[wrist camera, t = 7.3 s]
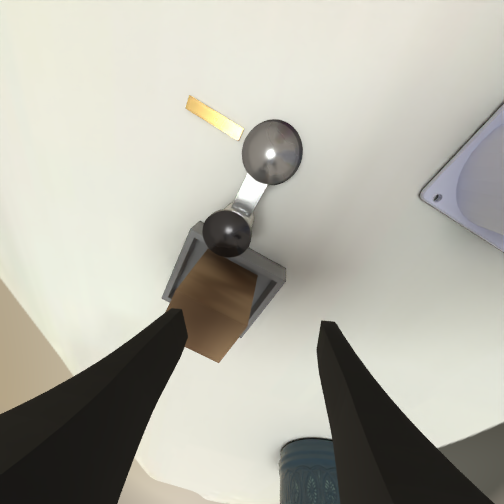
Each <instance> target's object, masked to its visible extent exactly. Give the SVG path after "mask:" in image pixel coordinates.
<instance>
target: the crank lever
mask: <svg viewBox="0 0 504 504" xmlns="http://www.w3.org/2000/svg"><path fill="white" fill-rule="evenodd" d="M298 159H299V145H298V141H297V138H296V136H295V135H294V133H293V132H292V130H291V129H290V128H288V127H287V126H286V125H284V124H282V123H279V122H275V121H269V122H264V123H261V124H259V125H258V126H256V127H255V128H253V129H252V130H251V131H250V133H249V134H248V135H247V137H246V139H245V141H244V144H243V149H242V160H243V164H244V167H245V169H246V171H247V173H248V174H247V176H246V178H245V180H244V182H243V184H242V186H241V188H240V190H239V192H238V194H237V196H236V198H235V200H234V202H233V203H231V204H229V205H228V206H227V207H226V208H225V209H224V210H219V211H216V212H214V213H213V214H211V215H210V216H209V217H208V218H207V220H206V221H205V223H204V225H203V230H202V234H203V239H204V241H205V243H206V245H207V247H208V248H209V249H210V250H211V251H212V252H214V253H215V254H217V255H219V256H222V257H228V258H231V257H236V256H239V255H241V254H242V253H244V252H245V251H246V250H247V248H248V247H249V244H250V242H251V238H252V231H251V227H252V224H253V222H254V213H253V210H254V208H255V206H256V205H257V203H258V201H259V199H260V197H261V196H262V194H263V192H264V190H265V189H266V187H267V185H272V184H277V183H280V182H282V181H284V180H285V179H287V178H288V177H289V176H290V175H291V174H292V172H293V171H294V169H295V168H296V165H297V163H298Z"/></svg>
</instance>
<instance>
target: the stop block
mask: <svg viewBox="0 0 504 504" xmlns="http://www.w3.org/2000/svg"><path fill="white" fill-rule="evenodd" d="M257 277H258V275H256V274H254V273H252V272H251V271H249V270H247V269H245V268H243V267H241V266H239V265H238V264H236V263H234V262H232V261H230V260H228V259H227V258H225V257H222V256H219V255H217V254H215V253H214V252H212V251H211V250H210V249H207V250H206V252H205V253H204V254H203V255H202V257H201V258H200V259H199V261H198V262H197V263H196V264H195V266H194V267H193V268H192V270H191V271H190V272H189V274H188V275H187V276H186V277H185V279H184V280H183V281H182V283H181V284H180V285H179V286H178V288H177V289H176V291H175V293H174V295H173V297H172V299H171V302H170V304H169V306H168V308H167V310H166V312H167V311H168V310H170V309H171V308H175V309H182V311H183V316H184V320H185V324H186V329H187V333H188V339H187V341H186V344H185V347H186V348H188V349H191V350H193V351H195V352H197V353H199V354H201V355H203V356H205V357H207V358H209V359H211V360H213V361H215V362H218V363H219V362H220V361H221V360H222V358H223V357H224V356H225V354H226V353H227V352H228V351H229V349H230V348H231V347H232V346H233V344H234V343H235V342H236V340H237V339H238V338H239V337H240V335H241V334H242V333H243V331H244V330H245V329H246V328H247V326H248V321H249V316H250V311H251V306H252V301H253V297H254V292H255V287H256V282H257ZM166 312H165V313H166Z"/></svg>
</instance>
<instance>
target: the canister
mask: <svg viewBox="0 0 504 504" xmlns="http://www.w3.org/2000/svg"><path fill="white" fill-rule="evenodd" d="M279 468H280V469H279V475H280V504H340V496H339V488H338V479H337V471H336V463H335V455H334V447H333V441H329V440H322V439H304V440H298V441H294V442H292V443H289V444H288V445H286V446H285V447H284V448H283V449H282V451H281V459H280V462H279Z"/></svg>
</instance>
